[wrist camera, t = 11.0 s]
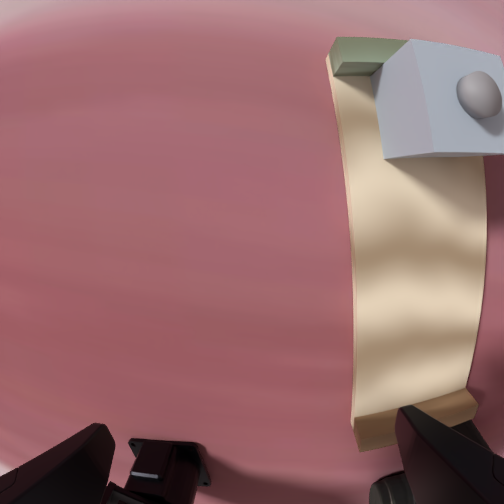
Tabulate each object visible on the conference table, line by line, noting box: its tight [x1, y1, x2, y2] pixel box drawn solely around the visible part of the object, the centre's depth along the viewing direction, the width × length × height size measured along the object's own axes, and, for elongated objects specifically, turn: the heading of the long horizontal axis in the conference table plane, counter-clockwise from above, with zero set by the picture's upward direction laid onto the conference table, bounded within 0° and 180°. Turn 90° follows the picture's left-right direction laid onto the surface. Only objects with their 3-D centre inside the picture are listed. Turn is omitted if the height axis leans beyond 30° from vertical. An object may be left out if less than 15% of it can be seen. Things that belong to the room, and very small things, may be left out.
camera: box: [369, 419, 494, 504], centre depth 18 cm, size 14×11×10 cm
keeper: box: [370, 39, 504, 159], centre depth 12 cm, size 5×6×7 cm
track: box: [326, 37, 487, 452], centre depth 17 cm, size 26×10×4 cm, turn 8°
